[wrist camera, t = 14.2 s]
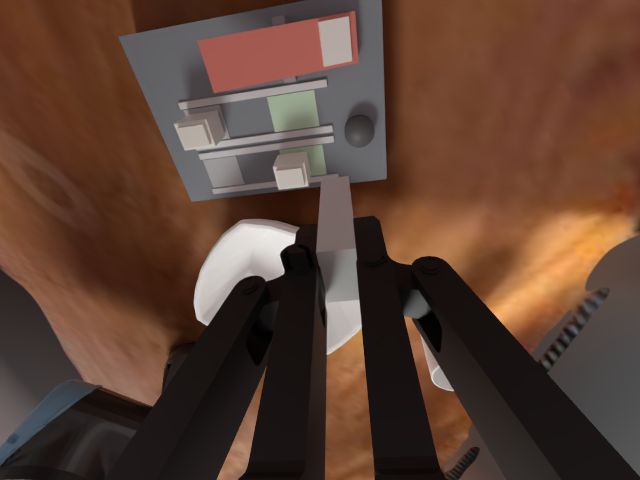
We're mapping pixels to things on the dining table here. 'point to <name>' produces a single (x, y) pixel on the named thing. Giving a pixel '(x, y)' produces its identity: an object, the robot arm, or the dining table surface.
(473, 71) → the dining table surface
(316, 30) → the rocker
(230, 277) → the bowl
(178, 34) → the panel
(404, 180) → the dining table surface
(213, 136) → the slider
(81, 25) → the dining table surface
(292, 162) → the slider
